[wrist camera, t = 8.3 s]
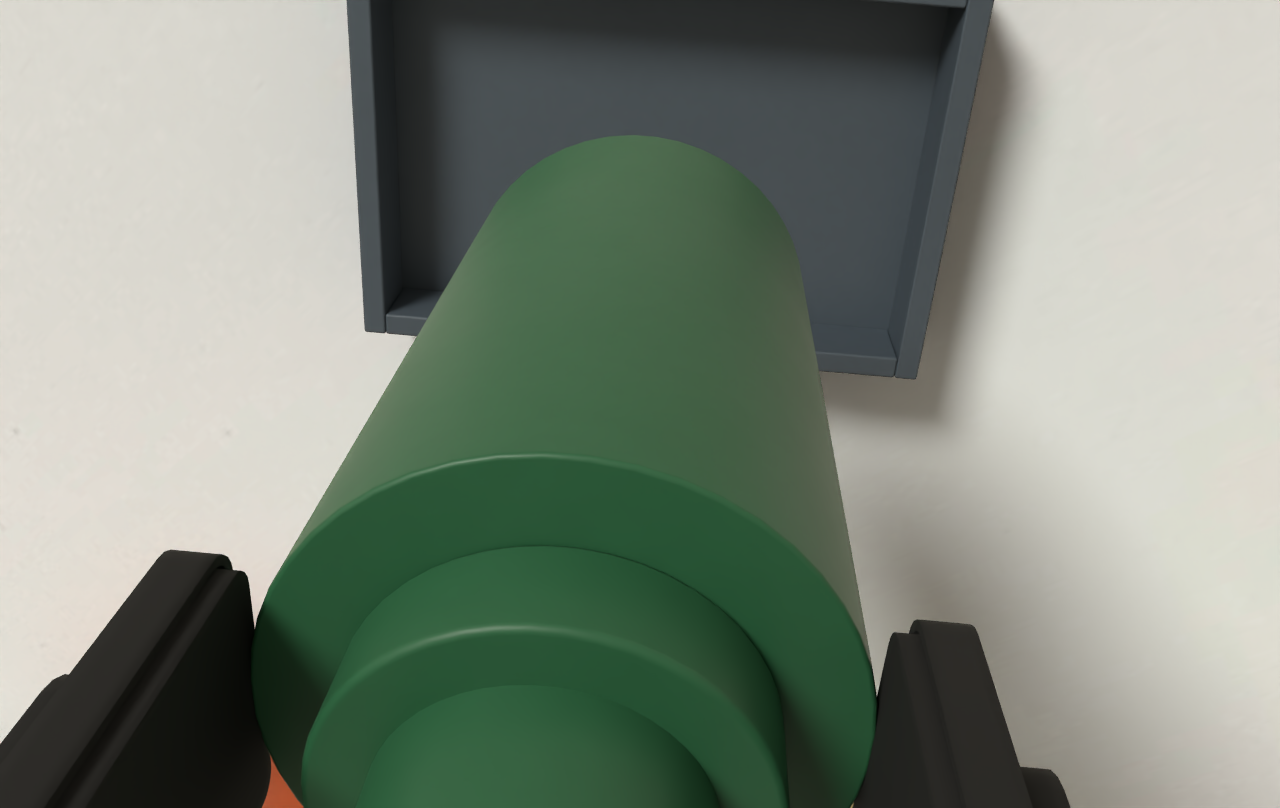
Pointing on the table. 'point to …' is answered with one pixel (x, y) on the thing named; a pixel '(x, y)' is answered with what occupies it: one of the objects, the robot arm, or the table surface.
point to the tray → (676, 134)
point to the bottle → (585, 525)
